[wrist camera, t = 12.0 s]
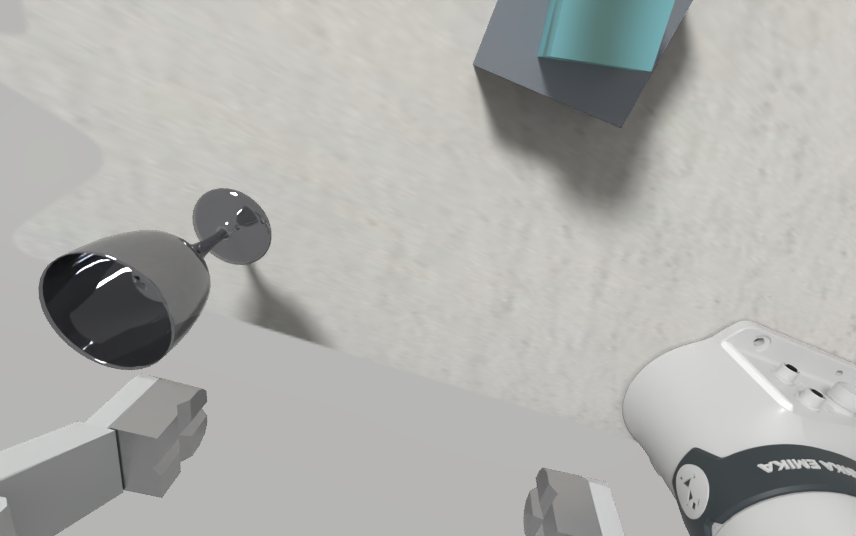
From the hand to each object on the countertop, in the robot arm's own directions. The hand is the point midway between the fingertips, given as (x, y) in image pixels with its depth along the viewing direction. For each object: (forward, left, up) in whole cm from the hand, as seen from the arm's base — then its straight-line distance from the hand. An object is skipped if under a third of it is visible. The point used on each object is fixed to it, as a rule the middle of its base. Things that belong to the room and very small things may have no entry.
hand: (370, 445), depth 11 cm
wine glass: (+18, +8, -28) cm, 34 cm away
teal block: (-7, -12, -22) cm, 26 cm away
